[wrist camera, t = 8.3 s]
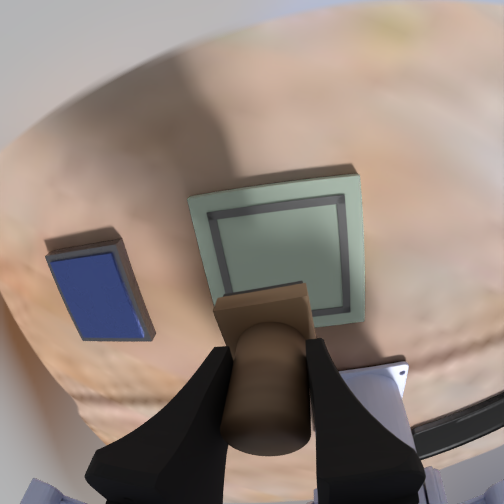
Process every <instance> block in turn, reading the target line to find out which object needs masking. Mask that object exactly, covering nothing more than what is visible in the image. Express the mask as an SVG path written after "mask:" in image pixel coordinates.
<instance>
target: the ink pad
mask: <svg viewBox="0 0 504 504" xmlns="http://www.w3.org/2000/svg"><path fill="white" fill-rule="evenodd" d="M45 258H46V260H47V263H48V266H49V268H50V271H51V273H52V276H53V278H54V280H55V283H56V285H57V287H58V290H59V292H60V294H61V297H62V299H63V301H64V303H65V306H66V308H67V310H68V312H69V314H70V316H71V318H72V320H73V322H74V324H75V326H76V328H77V330H78V332H79V334H80V336H81V338H82V340H83V341H152V340H153V338H154V337H155V335H156V332H155V329H154V327H153V324H152V322H151V319H150V317H149V314H148V311H147V309H146V306H145V303H144V301H143V298H142V295H141V293H140V290H139V287H138V284H137V282H136V279H135V276H134V273H133V270H132V267H131V264H130V261H129V258H128V255H127V252H126V249H125V246H124V243H123V240H122V239H117V240H111V241H105V242H99V243H93V244H87V245H82V246H76V247H70V248H65V249H59V250H54V251H51V252H50V253H49V254H47V255H46V256H45Z"/></svg>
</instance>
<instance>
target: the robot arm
mask: <svg viewBox="0 0 504 504" xmlns="http://www.w3.org/2000/svg"><path fill="white" fill-rule="evenodd" d="M305 344H306V359H307V368H308V378H309V388H310V398H311V404H312V411H313V417H314V424H315V432H316V476H317V489H314V501H311V502H308V503H307V504H448V502H447V498H446V494H445V490H444V486H443V481H442V478H441V474H440V470H437V469H435V468H434V469H433V467H432V466H429V467H426V468H424V467H423V465H422V462H421V460H420V458H419V456H418V455H417V452H416V448H415V444H414V440H413V436H412V433H411V429H410V425H409V422H408V418H407V415H406V411H405V408H404V404H403V401H402V397H403V392H404V388H405V383H406V378H407V373H408V368H409V365H408V363H407V362H405V361H402V362H397V363H391V364H385V365H379V366H373V367H366V368H360V369H352V370H345V371H338V370H337V368H336V367H335V365H334V363H333V361H332V359H331V357H330V355H329V353H328V351H327V348H326V346H325V342H324V340H323V339H322V338H317V339H308V340H305ZM233 362H234V361H233V358H232V354H231V351H230V348H229V346H223V347H214V348H213V350H212V351H211V352H210V354H209V355H208V356H207V358H206V359H205V360H204V362H203V363H202V364H201V366H200V367H199V368H198V370H197V371H196V372H195V373H194V375H193V376H192V377H191V378H190V380H189V381H188V382H187V383H186V385H185V386H184V387H183V388H182V389H181V390H180V391H179V392H178V393H177V395H176V396H175V397H174V398H173V399H172V400H171V401H170V402H169V403H168V404H167V405H166V406H165V407H164V408H163V409H161V410H160V411H159V412H158V413H157V414H156V415H154V416H153V417H152V418H150V419H149V420H148V421H147V422H145V423H144V424H143V425H141V426H140V427H138V428H137V429H135V430H134V431H132V432H131V433H129V434H127V435H126V436H124V437H122V438H121V439H119V440H117V441H115V442H113V443H111V444H109V445H107V446H105V447H103V448H101V449H98V450H97V451H96V452H95V454H94V456H93V458H92V460H91V463H90V465H89V467H88V469H87V471H86V474H85V479H86V481H87V482H88V484H90V486H91V487H93V488H94V489H95V490H96V491H97V492H98V493H100V494H101V495H102V496H103V497H105V498H106V499H107V501H106V504H223V487H224V475H225V465H226V455H227V449H228V444H227V443H226V442H225V441H224V439H223V438H222V436H221V434H220V426H221V421H222V416H223V411H224V407H225V402H226V397H227V392H228V387H229V382H230V377H231V372H232V367H233ZM20 504H87V503H84V502H81V501H78V500H76V499H73V498H70V497H68V496H65V495H63V494H62V493H61V492H60V491H59V490H58V489H57V488H55V487H53V486H52V485H50V484H48V483H45V482H43V481H41V480H38V479H36V478H33V479H32V481H31V483H30V485H29V487H28V489H27V491H26V493H25V495H24V497H23V499H22V501H21V503H20ZM459 504H504V479H503V480H501V481H499V482H497V483H495V484H493V485H492V486H490V487H489V488H488V489H487V490H486V492H485V493H484V494H482V495H480V496H477V497H475V498H472V499H470V500H467V501H464V502H461V503H459Z"/></svg>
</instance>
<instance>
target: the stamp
mask: <svg viewBox="0 0 504 504" xmlns="http://www.w3.org/2000/svg"><path fill="white" fill-rule="evenodd" d="M213 312H214V315H215V318H216V320H217V323H218V326H219V328H220V331H221V333H222V336H223V339H224V341H225V344H226V346H229V348H230V351H231V354H232V358H233V361H234V362H233V367H232V372H231V377H230V382H229V387H228V392H227V397H226V402H225V407H224V411H223V416H222V421H221V426H220V434H221V436H222V438H223V439H224V441H225V442H226V443H227V444H229V445H230V446H232V447H233V448H235V449H237V450H239V451H242V452H245V453H248V454H252V455H258V456H280V455H285V454H289V453H292V452H295V451H297V450H299V449H301V448H302V447H304V446H305V445H306V444H307V443H308V441H309V440H310V437H311V417H310V392H309V378H308V368H307V359H306V344H305V340H308V339H316V333H315V328H314V322H313V317H312V311H311V306H310V301H309V296H308V290H307V285H306V283H303V281H297V282H291V283H286V284H280V285H274V286H269V287H263V288H257V289H251V290H245V291H239V292H233V293H227V294H224V295H223V297H219V298H217V301H216V304H215V306H214V309H213Z"/></svg>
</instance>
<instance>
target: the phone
mask: <svg viewBox="0 0 504 504" xmlns="http://www.w3.org/2000/svg"><path fill="white" fill-rule="evenodd" d="M502 427H504V393H502V394H500V395H498V396H496V397H493V398H491V399H489V400H487V401H485V402H482V403H480V404H478V405H475V406H473V407H471V408H468V409H466V410H463V411H461V412H458V413H456V414H453V415H450V416H448V417H445V418H442V419H439V420H437V421H434V422H431V423H428V424H425V425H422V426H419V427H416V428H414V429H413V430H411V433H412V436H413V440H414V444H415V448H416V452H417V455H418V456H419V458H420V460H423V459H426V458H429V457H432V456H435V455H438V454H441V453H443V452H446V451H449V450H451V449H454V448H457V447H459V446H462V445H464V444H467V443H469V442H471V441H474V440H476V439H478V438H481V437H483V436H485V435H487V434H490V433H492V432H494V431H496V430H498V429H500V428H502Z"/></svg>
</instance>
